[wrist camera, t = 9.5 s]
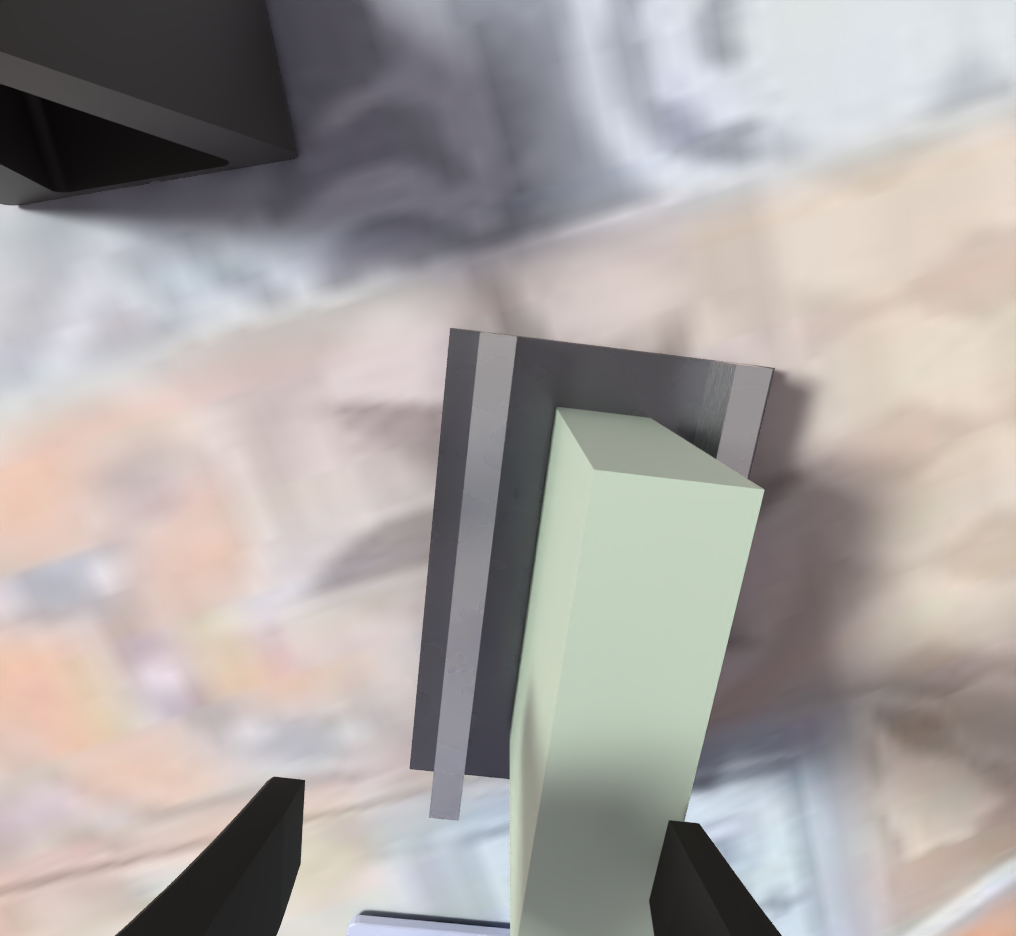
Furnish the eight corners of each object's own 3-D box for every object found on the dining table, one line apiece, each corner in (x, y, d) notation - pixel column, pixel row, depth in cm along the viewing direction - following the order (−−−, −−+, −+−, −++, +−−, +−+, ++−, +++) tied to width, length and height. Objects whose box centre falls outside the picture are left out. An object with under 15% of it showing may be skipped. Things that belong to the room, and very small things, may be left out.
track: (762, 366, 18) (808, 373, 15) (668, 778, 22) (691, 843, 19) (452, 328, 18) (442, 327, 15) (413, 752, 21) (399, 814, 19)
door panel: (590, 740, 20) (641, 995, 13) (509, 732, 20) (510, 983, 12) (650, 417, 17) (764, 489, 10) (555, 406, 17) (593, 469, 10)
